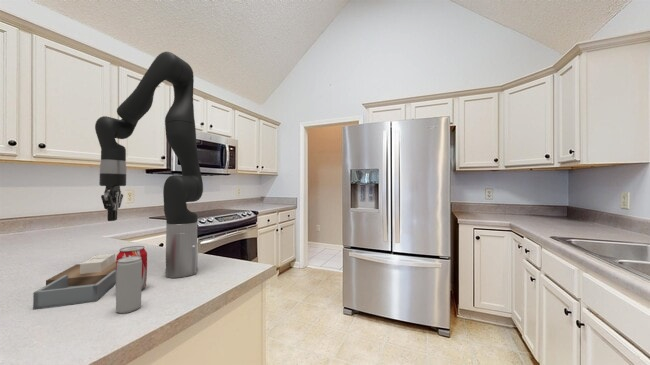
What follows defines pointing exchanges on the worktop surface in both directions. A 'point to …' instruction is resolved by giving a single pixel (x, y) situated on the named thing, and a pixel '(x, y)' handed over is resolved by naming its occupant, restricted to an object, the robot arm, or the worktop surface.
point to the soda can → (133, 252)
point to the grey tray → (71, 292)
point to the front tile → (93, 265)
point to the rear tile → (110, 257)
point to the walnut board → (82, 276)
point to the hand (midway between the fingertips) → (112, 220)
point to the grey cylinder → (128, 284)
